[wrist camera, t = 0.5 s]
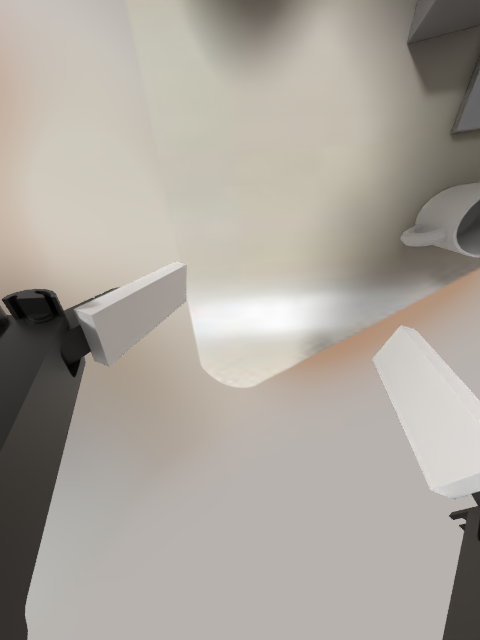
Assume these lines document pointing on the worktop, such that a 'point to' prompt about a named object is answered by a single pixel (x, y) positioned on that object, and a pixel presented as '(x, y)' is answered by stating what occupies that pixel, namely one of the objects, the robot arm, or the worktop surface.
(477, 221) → the cup
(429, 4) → the dark grey cube
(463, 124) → the base plate
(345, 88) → the worktop surface
